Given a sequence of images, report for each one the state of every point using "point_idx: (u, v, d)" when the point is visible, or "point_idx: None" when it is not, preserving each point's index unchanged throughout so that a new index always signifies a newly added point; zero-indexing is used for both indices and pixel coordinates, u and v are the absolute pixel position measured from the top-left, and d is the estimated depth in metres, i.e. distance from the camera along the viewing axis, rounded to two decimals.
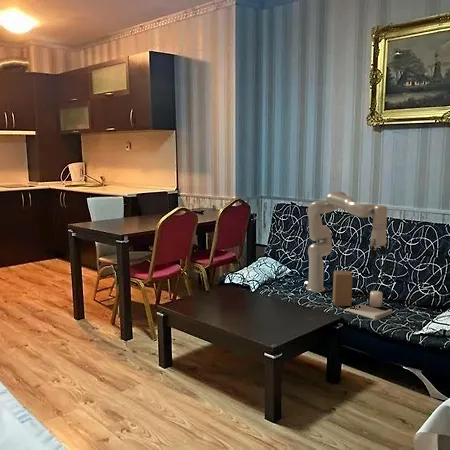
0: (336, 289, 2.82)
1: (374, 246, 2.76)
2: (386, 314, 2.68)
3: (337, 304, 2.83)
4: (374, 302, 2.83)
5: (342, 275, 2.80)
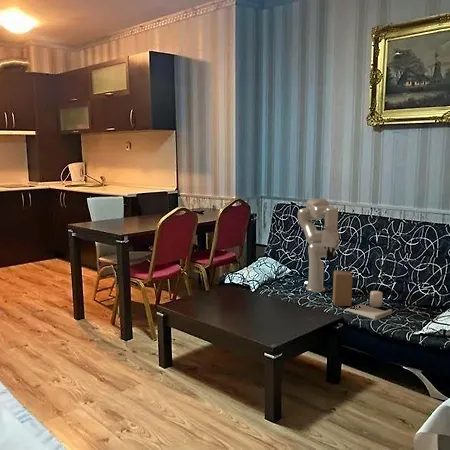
0: (336, 289, 2.82)
1: None
2: (386, 314, 2.68)
3: (337, 304, 2.83)
4: (374, 302, 2.83)
5: (342, 275, 2.80)
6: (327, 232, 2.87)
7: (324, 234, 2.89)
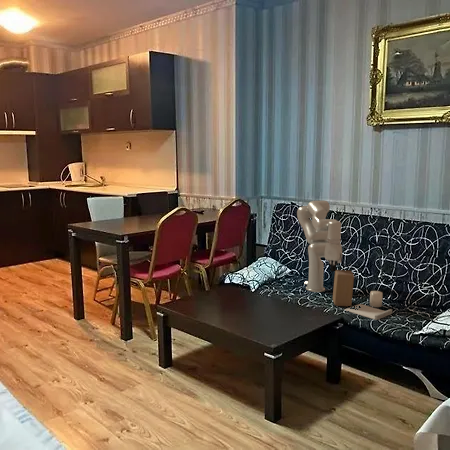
0: (337, 289, 2.81)
1: (334, 260, 2.88)
2: (386, 314, 2.68)
3: (337, 304, 2.83)
4: (374, 302, 2.83)
5: (344, 275, 2.79)
6: (330, 245, 2.86)
7: (327, 247, 2.88)
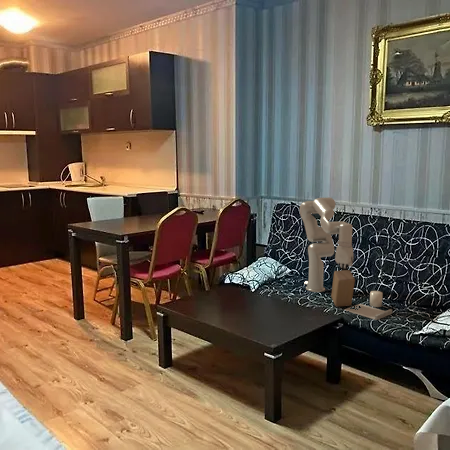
0: (338, 293, 2.77)
1: None
2: (386, 314, 2.68)
3: (338, 305, 2.81)
4: (373, 302, 2.83)
5: (345, 281, 2.72)
6: (341, 248, 2.80)
7: (338, 250, 2.82)
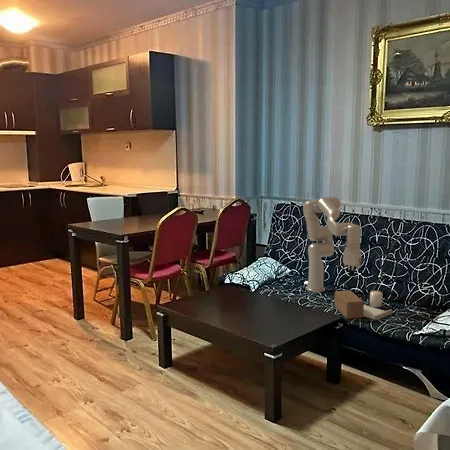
0: None
1: None
2: (386, 314, 2.68)
3: None
4: (374, 302, 2.83)
5: None
6: (349, 250, 2.76)
7: (346, 252, 2.78)
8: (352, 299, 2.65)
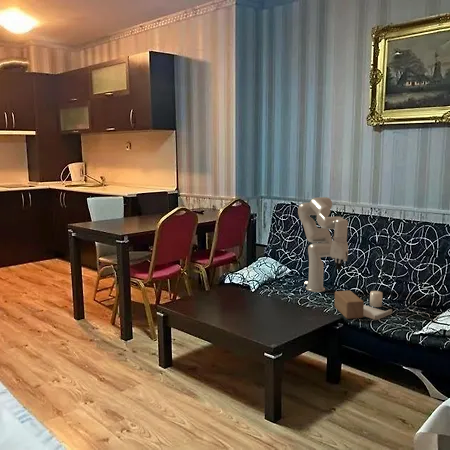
0: None
1: None
2: (386, 314, 2.68)
3: None
4: (373, 302, 2.83)
5: None
6: (336, 243, 2.83)
7: (333, 245, 2.85)
8: (352, 299, 2.65)
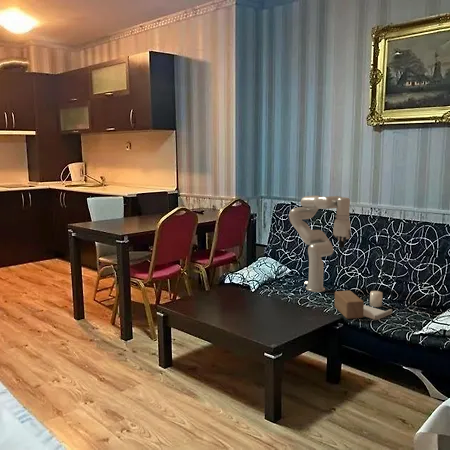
0: None
1: None
2: (386, 314, 2.68)
3: None
4: (373, 302, 2.83)
5: None
6: (339, 221, 2.89)
7: (336, 223, 2.91)
8: (352, 299, 2.65)
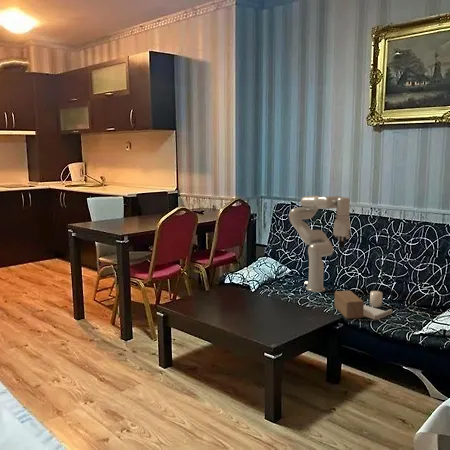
0: None
1: None
2: (386, 314, 2.68)
3: None
4: (373, 302, 2.83)
5: None
6: (339, 221, 2.89)
7: (336, 223, 2.91)
8: (352, 299, 2.65)
